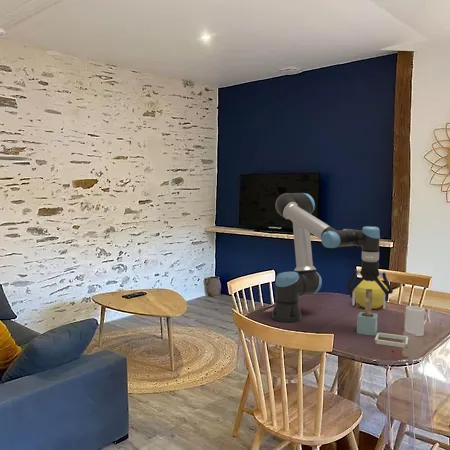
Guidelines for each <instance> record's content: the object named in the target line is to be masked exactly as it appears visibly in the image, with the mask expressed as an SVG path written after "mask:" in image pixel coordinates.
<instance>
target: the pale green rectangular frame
mask: <svg viewBox="0 0 450 450" xmlns="http://www.w3.org/2000/svg"><path fill="white" fill-rule="evenodd" d="M379 337H380V338H388V339H394V340H399V341H400V340H401V341H405V342H398V341H392V340H383V339H379ZM374 344H376V345H383V346H391V347H396V348H402V349H403V348H405V349H407V348H408V344H409V336H407V335H401V334H393V333H385V332H378V331H377V332H376V335H375V338H374Z"/></svg>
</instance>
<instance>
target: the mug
mask: <svg viewBox="0 0 450 450" xmlns="http://www.w3.org/2000/svg"><path fill="white" fill-rule="evenodd" d="M427 321H428V314H427V311H426V310H425V308H424V307H422V306H416V305H408V306H405V323H404V332H406V333H408V334H413V335H414V337H423V336H424V335H425V325H426V323H427Z"/></svg>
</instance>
